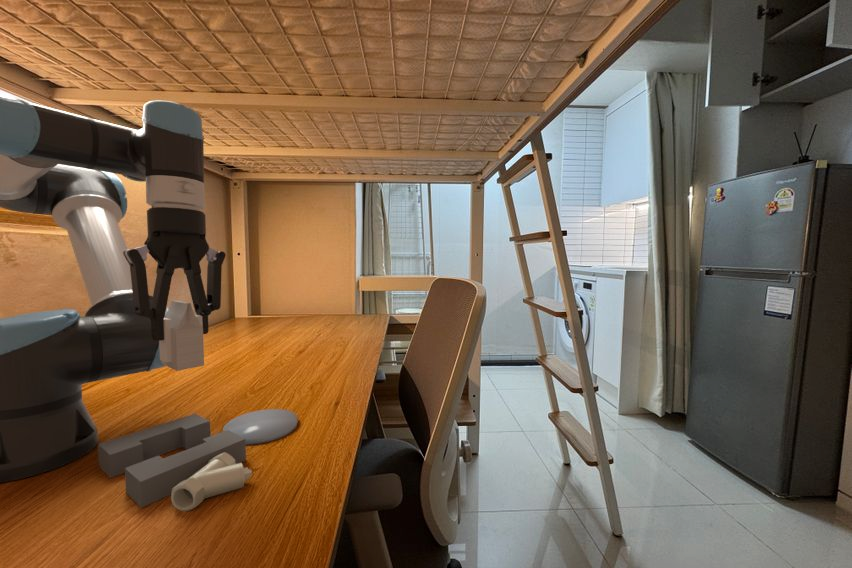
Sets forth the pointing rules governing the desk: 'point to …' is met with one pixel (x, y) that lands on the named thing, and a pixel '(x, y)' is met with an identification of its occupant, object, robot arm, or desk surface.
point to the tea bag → (185, 337)
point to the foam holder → (162, 474)
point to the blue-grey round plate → (263, 425)
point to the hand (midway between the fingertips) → (182, 357)
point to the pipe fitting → (210, 482)
